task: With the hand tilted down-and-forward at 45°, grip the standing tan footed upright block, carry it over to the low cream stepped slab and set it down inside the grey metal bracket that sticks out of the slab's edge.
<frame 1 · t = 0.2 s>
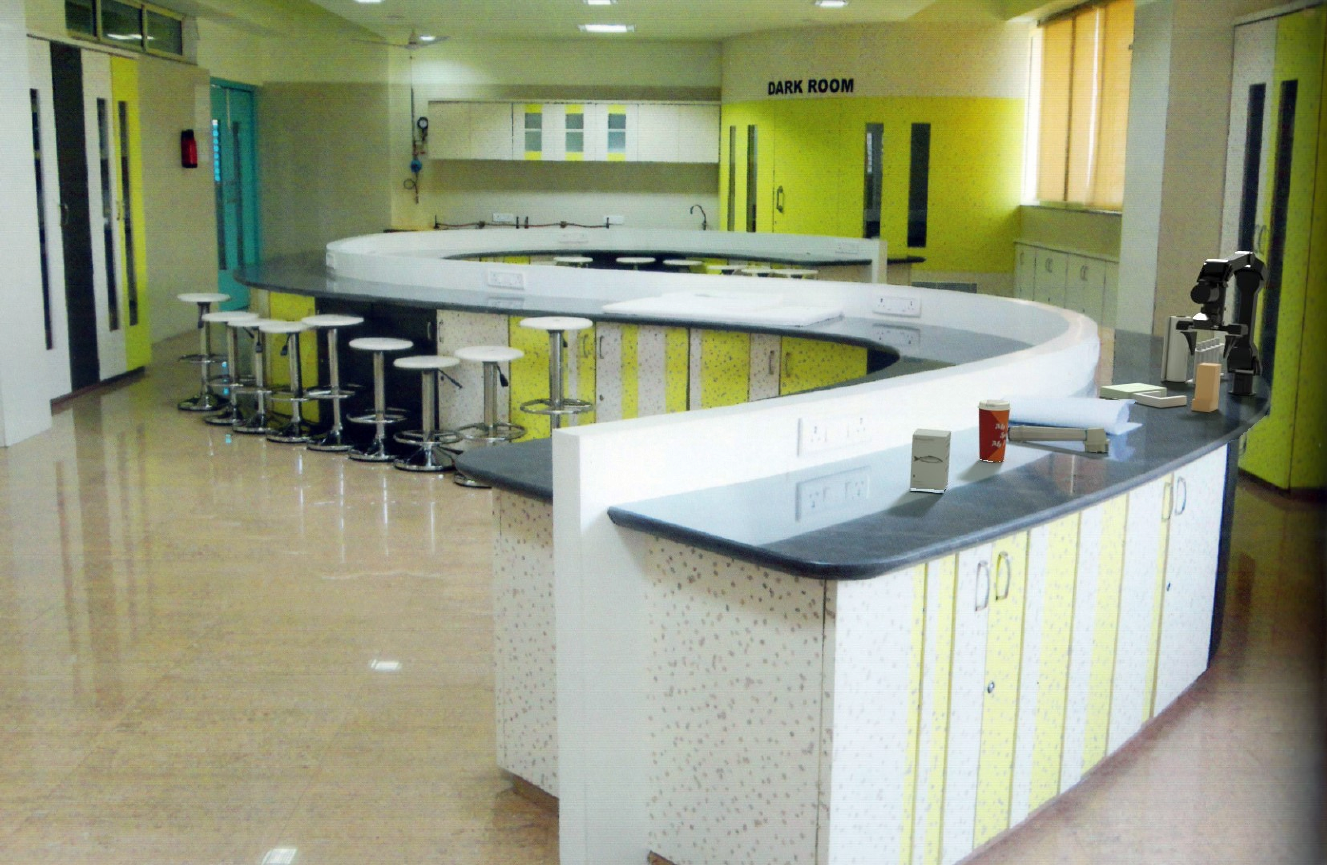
hand: (1208, 357, 347), 14 cm above the table, tool pointing down, fingers open, 9 cm apart
supplement box: (929, 490, 255), on the table
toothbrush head: (1057, 448, 296), on the table
paper towel roll: (1173, 381, 394), on the table
cream stepped slab: (1163, 402, 355), on the table
paper cup: (991, 460, 282), on the table
tan footed upright block: (1205, 408, 344), on the table
test tube rack: (1205, 380, 396), on the table
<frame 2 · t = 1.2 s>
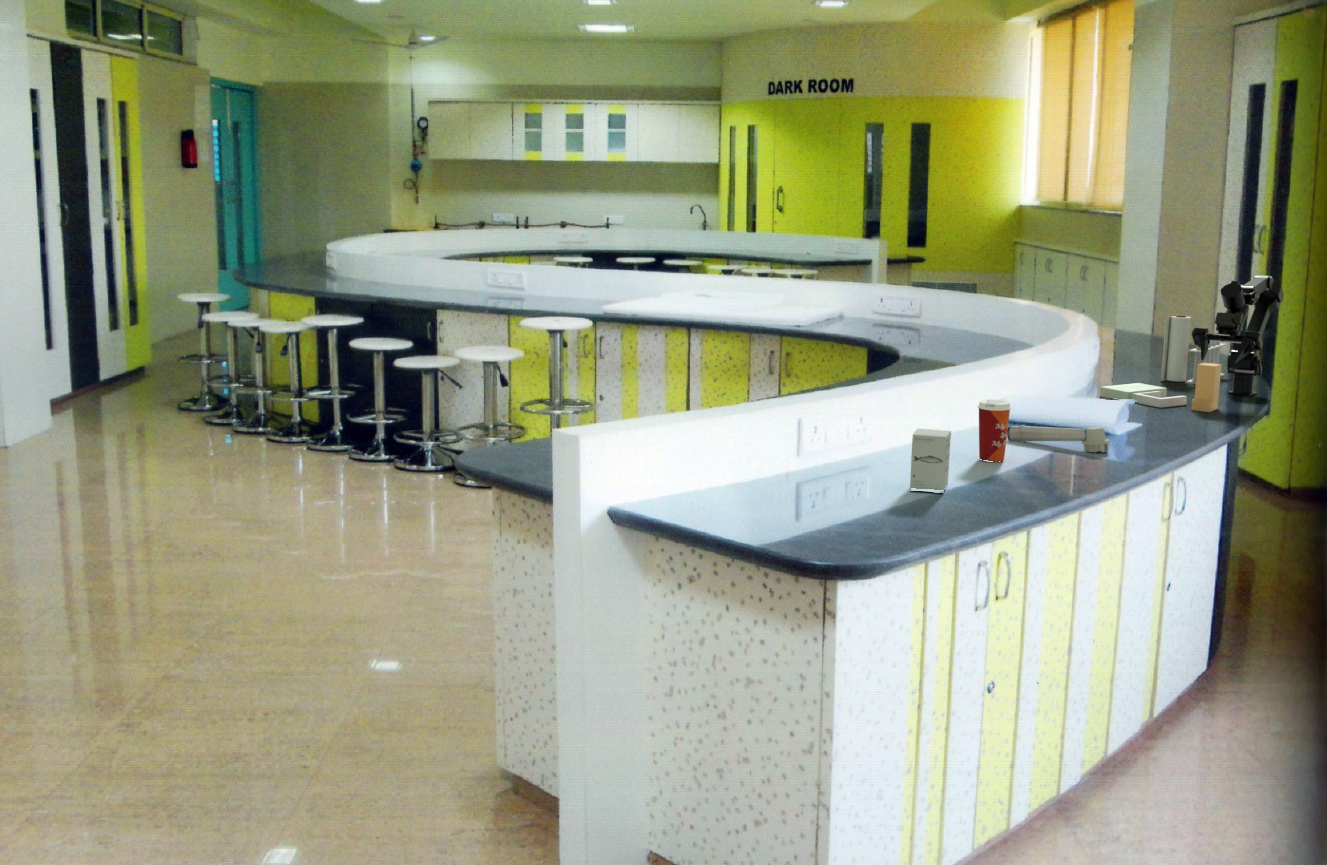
hand: (1218, 360, 347), 13 cm above the table, tool tilted 45°, fingers open, 9 cm apart
nothing on the table moved.
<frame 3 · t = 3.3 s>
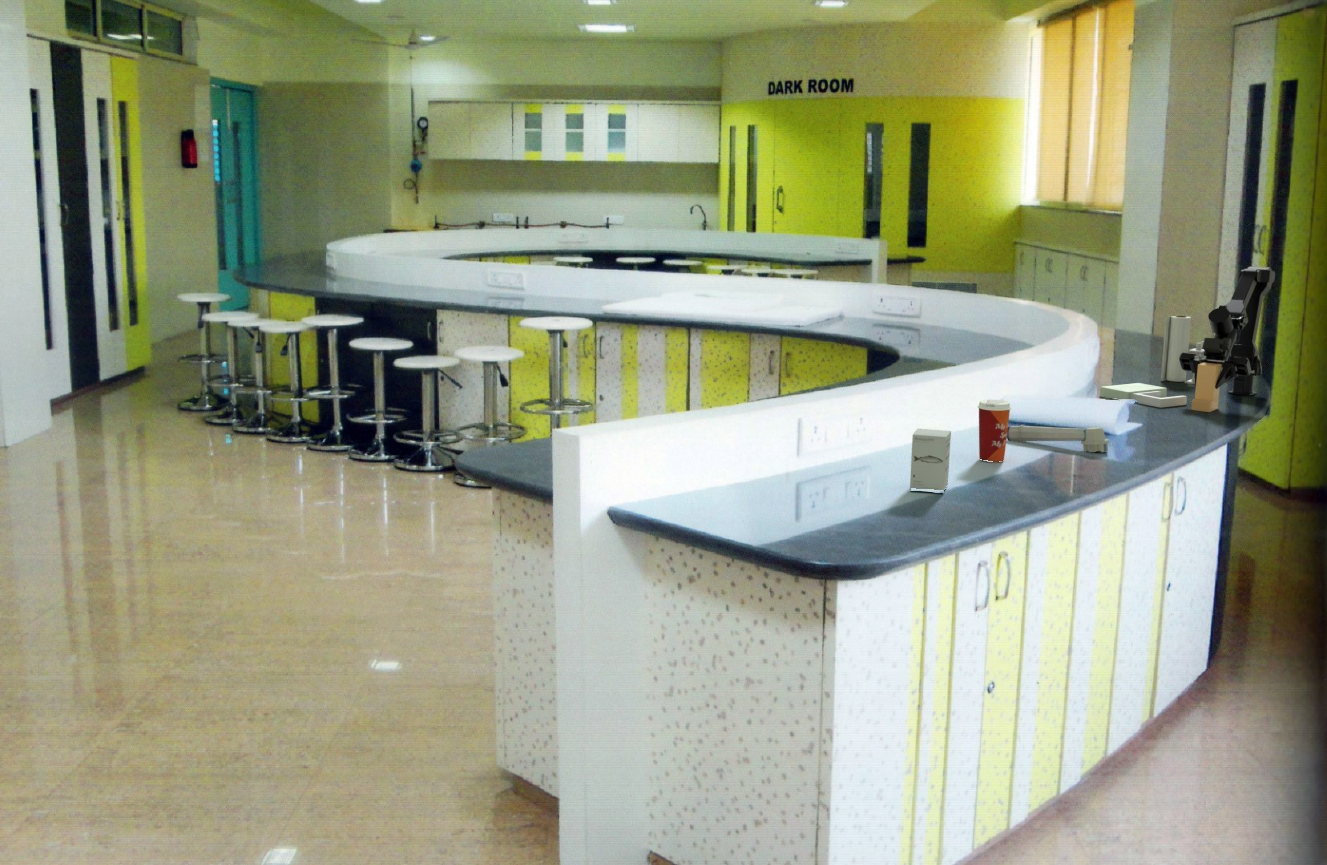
hand: (1205, 386, 342), 7 cm above the table, tool tilted 45°, fingers closed on tan footed upright block, 5 cm apart
tan footed upright block: (1205, 408, 344), on the table, touching gripper
everything else where it was.
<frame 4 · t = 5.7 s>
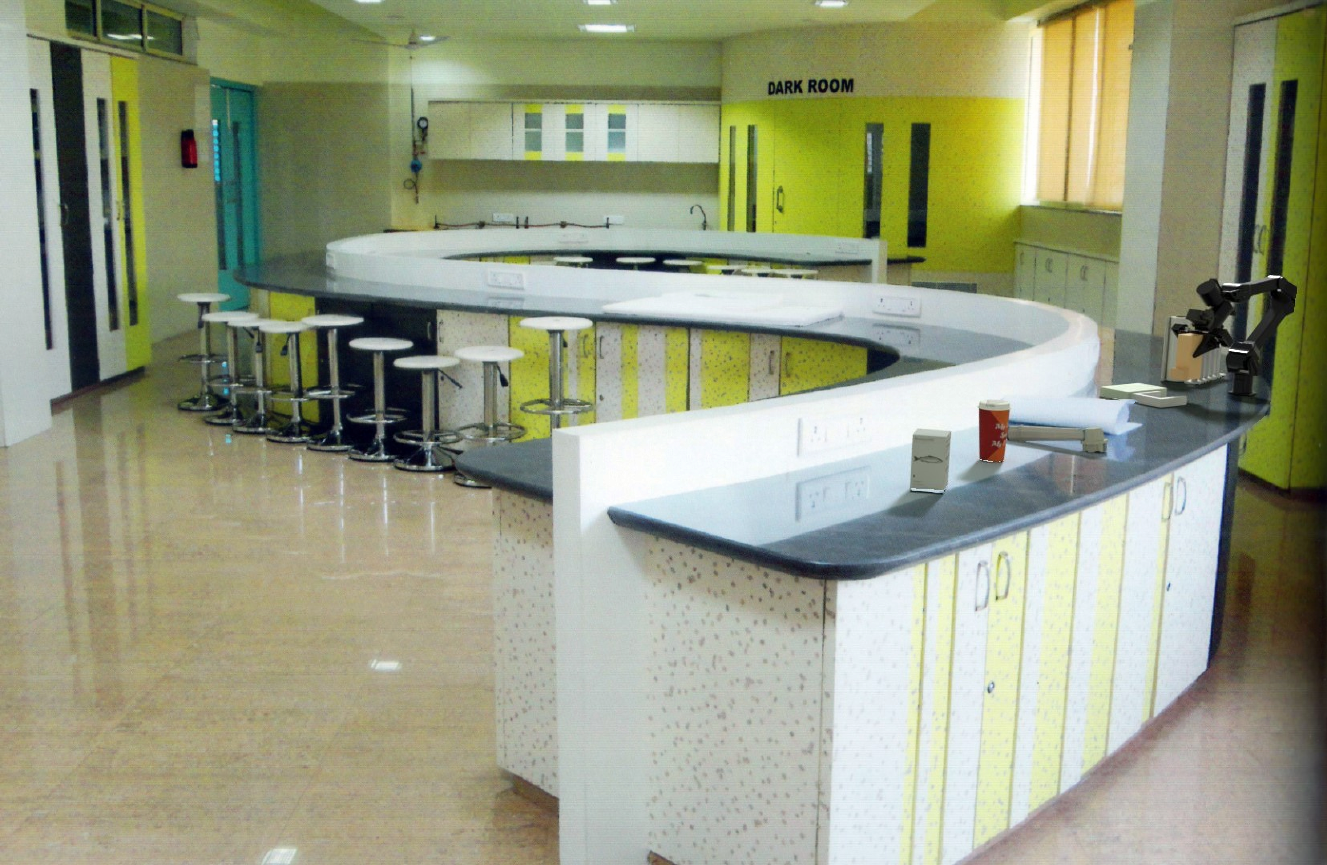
hand: (1186, 356, 355), 13 cm above the table, tool tilted 45°, fingers closed on tan footed upright block, 5 cm apart
tan footed upright block: (1187, 377, 357), point 7 cm above the table, touching gripper
everything else where it was.
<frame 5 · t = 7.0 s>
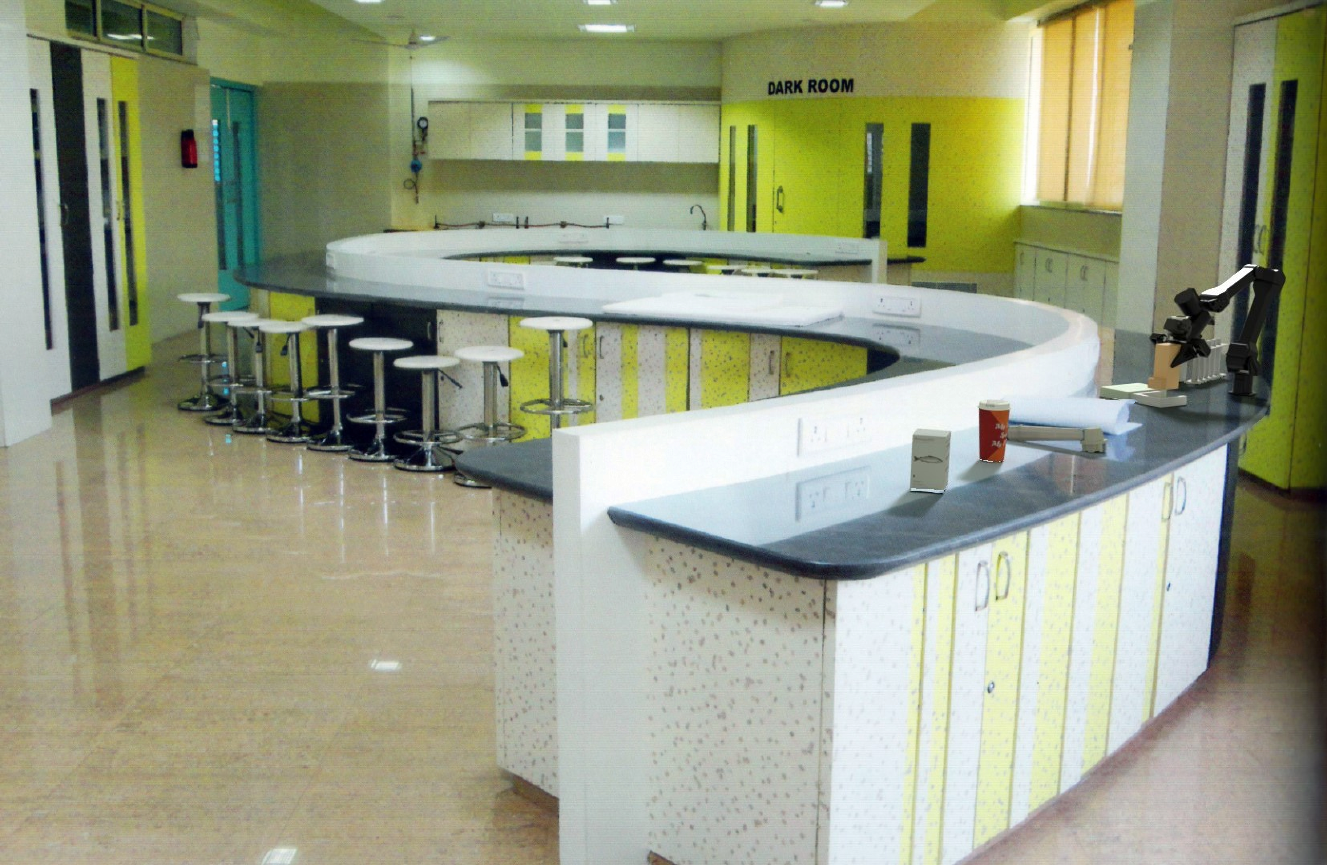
hand: (1163, 366, 352), 11 cm above the table, tool tilted 45°, fingers closed on tan footed upright block, 5 cm apart
tan footed upright block: (1165, 387, 354), point 4 cm above the table, touching gripper
everything else where it was.
when the fingers open (8 cm above the table, at t = 7.8 s): tan footed upright block drops 2 cm, on the table.
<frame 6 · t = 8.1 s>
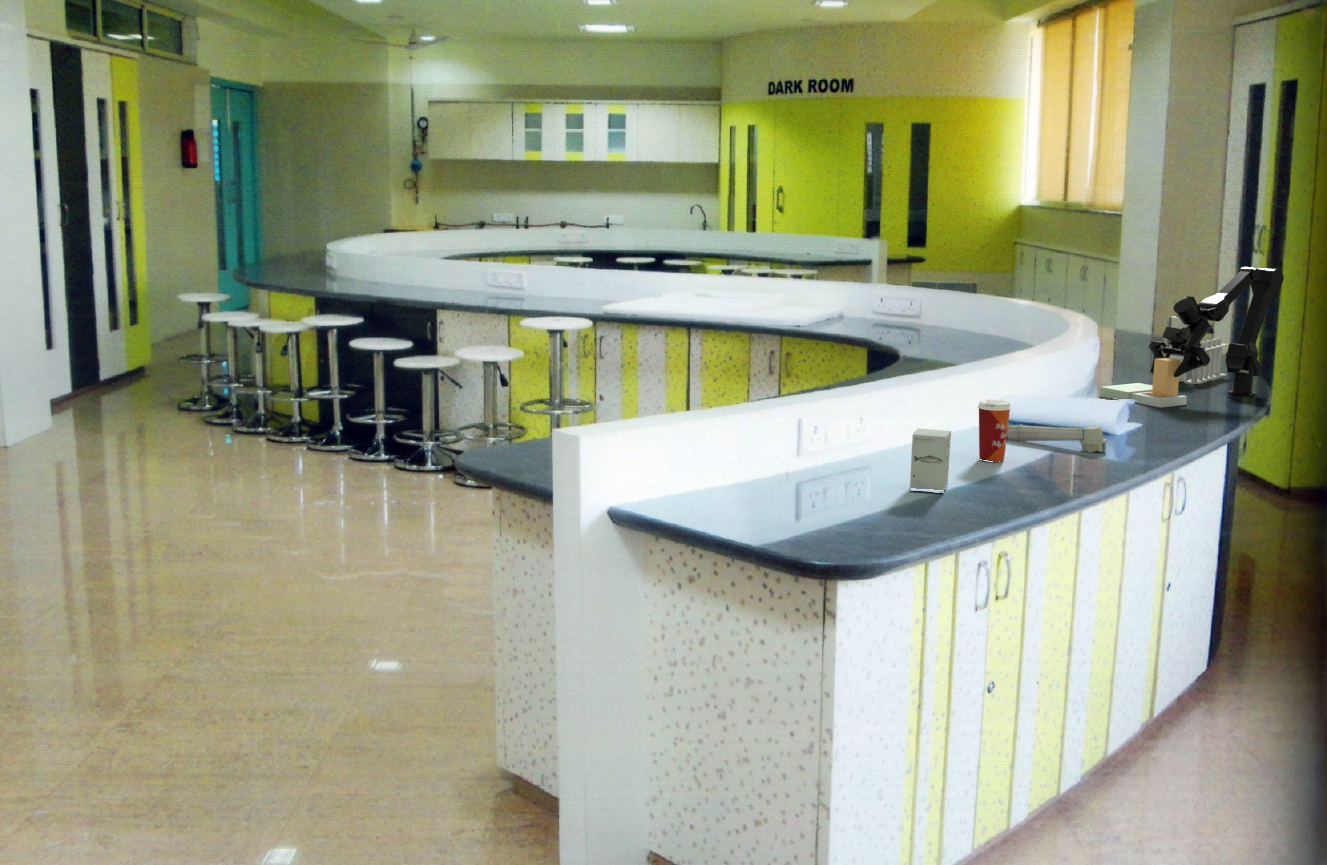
hand: (1162, 374, 352), 9 cm above the table, tool tilted 45°, fingers open, 8 cm apart
tan footed upright block: (1164, 402, 355), on the table
everything else where it was.
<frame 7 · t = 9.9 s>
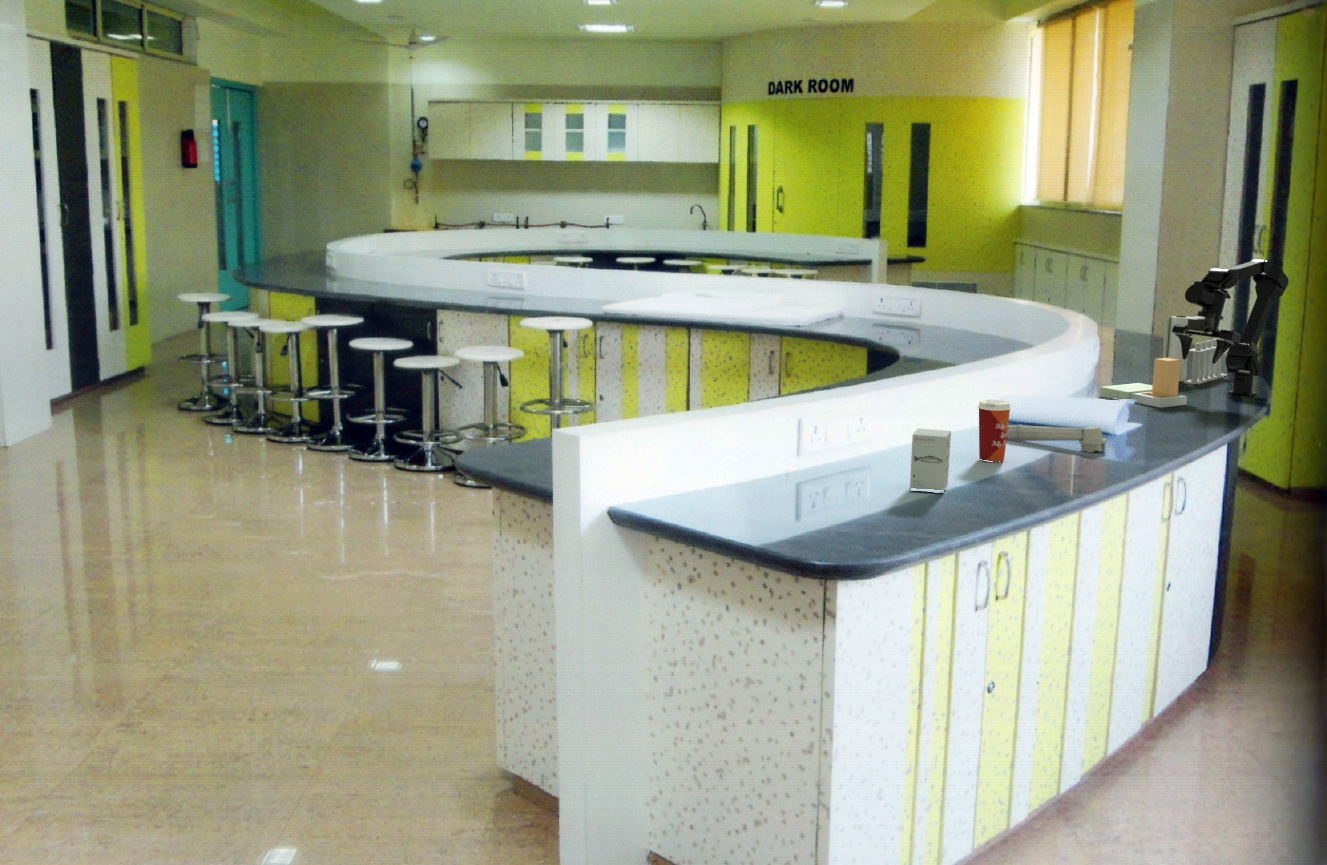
hand: (1198, 361, 356), 12 cm above the table, tool tilted 15°, fingers open, 9 cm apart
nothing on the table moved.
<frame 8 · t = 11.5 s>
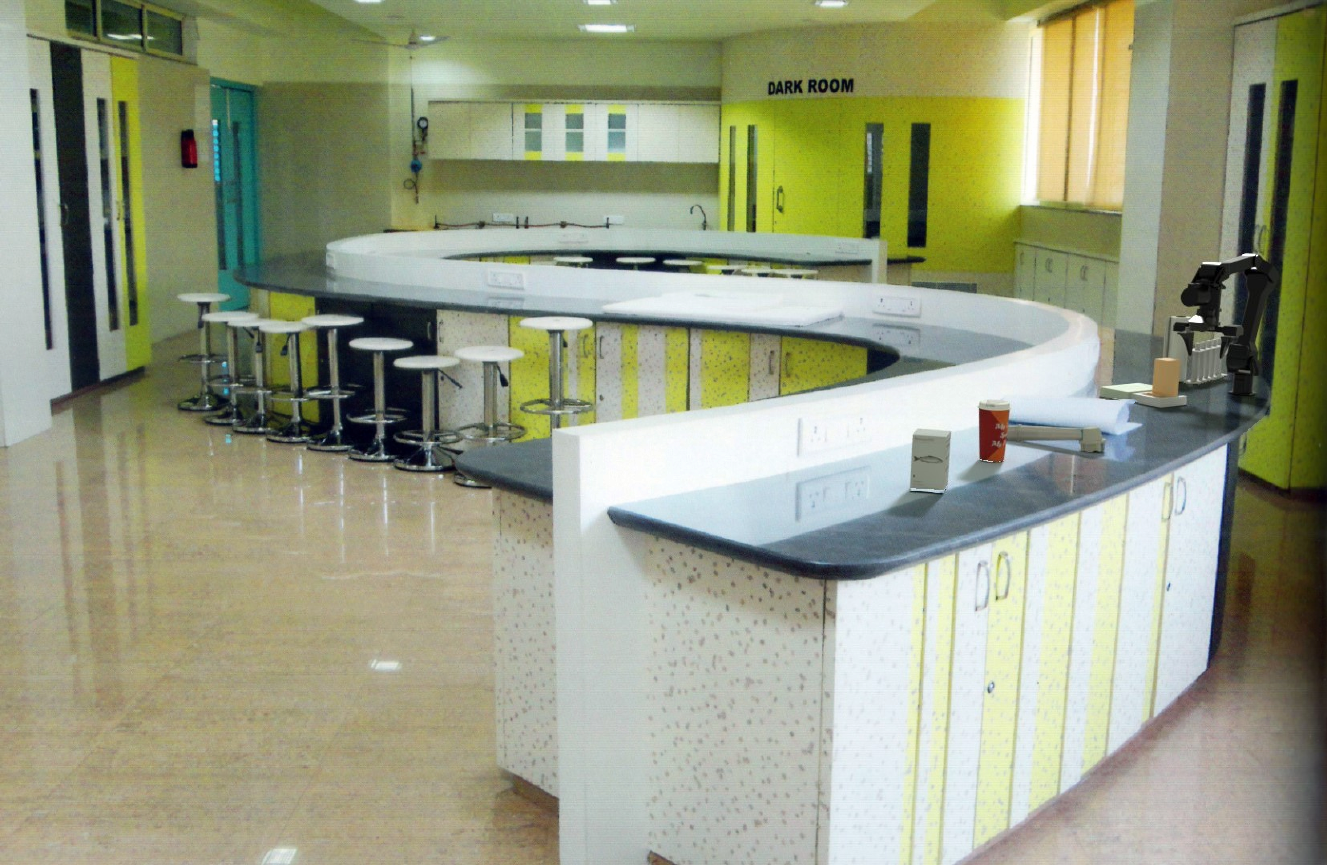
hand: (1205, 357, 356), 13 cm above the table, tool pointing down, fingers open, 9 cm apart
nothing on the table moved.
at the end: tan footed upright block inside the target area on the cream stepped slab (0.3 cm from its centre), point 0.0 cm above the cream stepped slab's base; tan footed upright block tilted 0°; the gripper is holding nothing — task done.
